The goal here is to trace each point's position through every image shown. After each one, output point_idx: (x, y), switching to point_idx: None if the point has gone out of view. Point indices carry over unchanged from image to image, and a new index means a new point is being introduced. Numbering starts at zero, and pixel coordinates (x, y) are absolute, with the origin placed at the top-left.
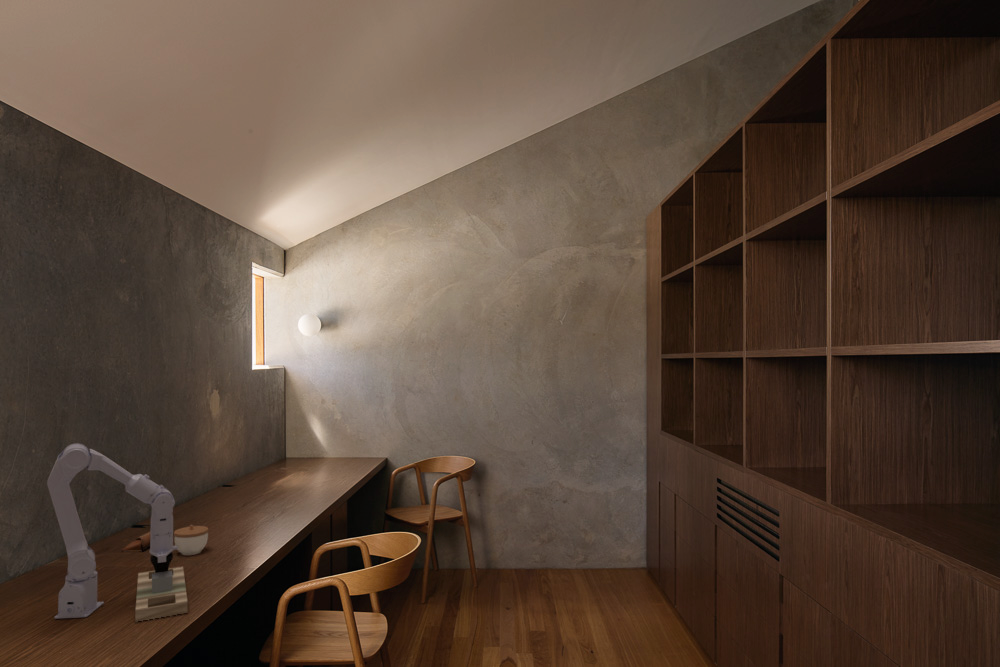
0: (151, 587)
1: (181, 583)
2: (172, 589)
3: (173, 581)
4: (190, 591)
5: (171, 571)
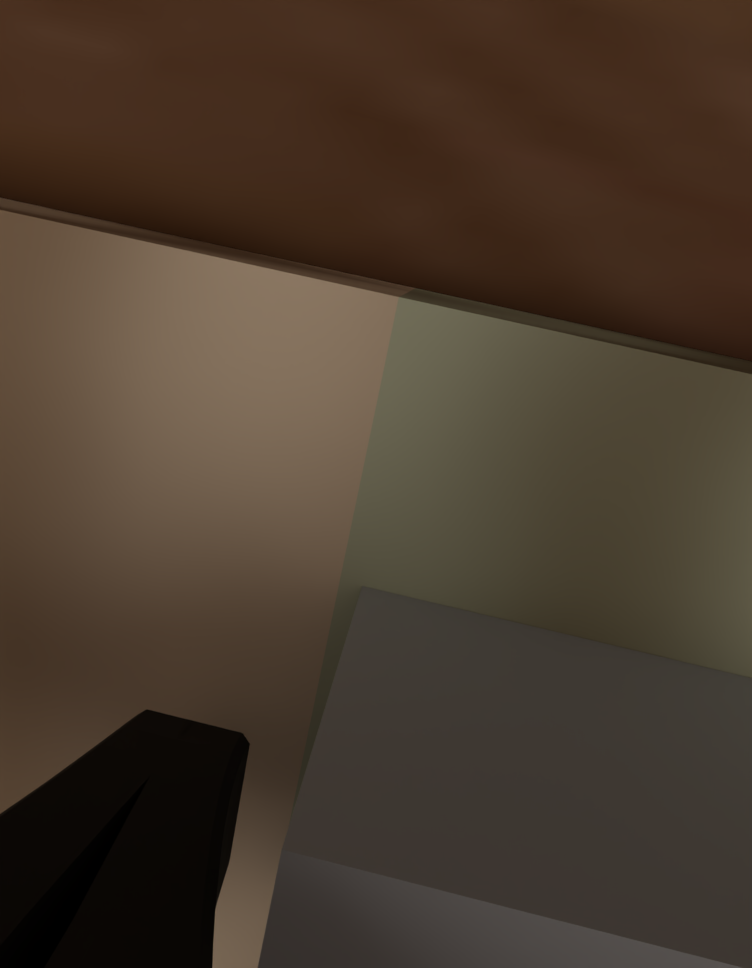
0: (271, 896)
1: (431, 395)
2: (716, 666)
3: (160, 502)
4: (400, 174)
5: (418, 904)
